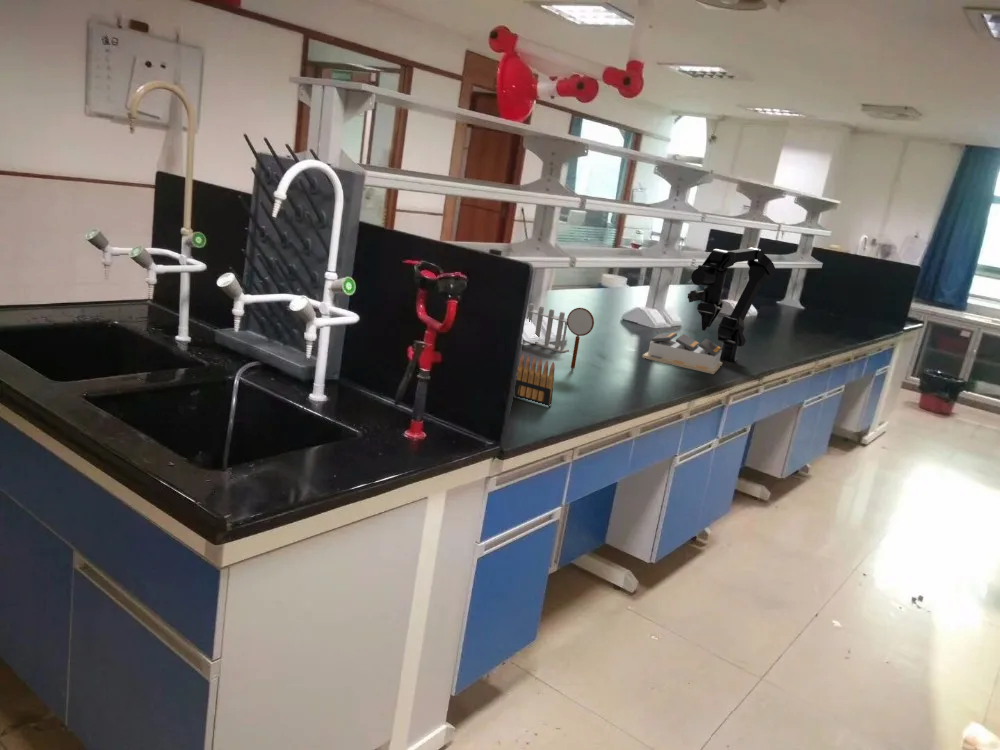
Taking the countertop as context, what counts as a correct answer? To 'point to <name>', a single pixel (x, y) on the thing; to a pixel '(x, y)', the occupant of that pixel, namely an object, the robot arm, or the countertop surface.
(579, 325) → the magnifying glass
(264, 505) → the countertop surface
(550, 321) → the grey picket fence
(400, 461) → the countertop surface
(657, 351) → the switch unit
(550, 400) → the ammunition clip
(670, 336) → the switch
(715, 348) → the switch
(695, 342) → the switch middle
